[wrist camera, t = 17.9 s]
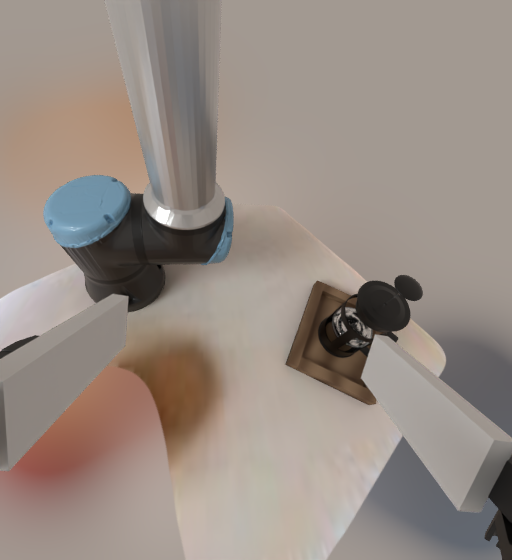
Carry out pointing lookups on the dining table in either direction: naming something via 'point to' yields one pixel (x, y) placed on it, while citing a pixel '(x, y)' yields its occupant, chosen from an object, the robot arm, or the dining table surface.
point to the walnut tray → (316, 359)
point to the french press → (370, 316)
